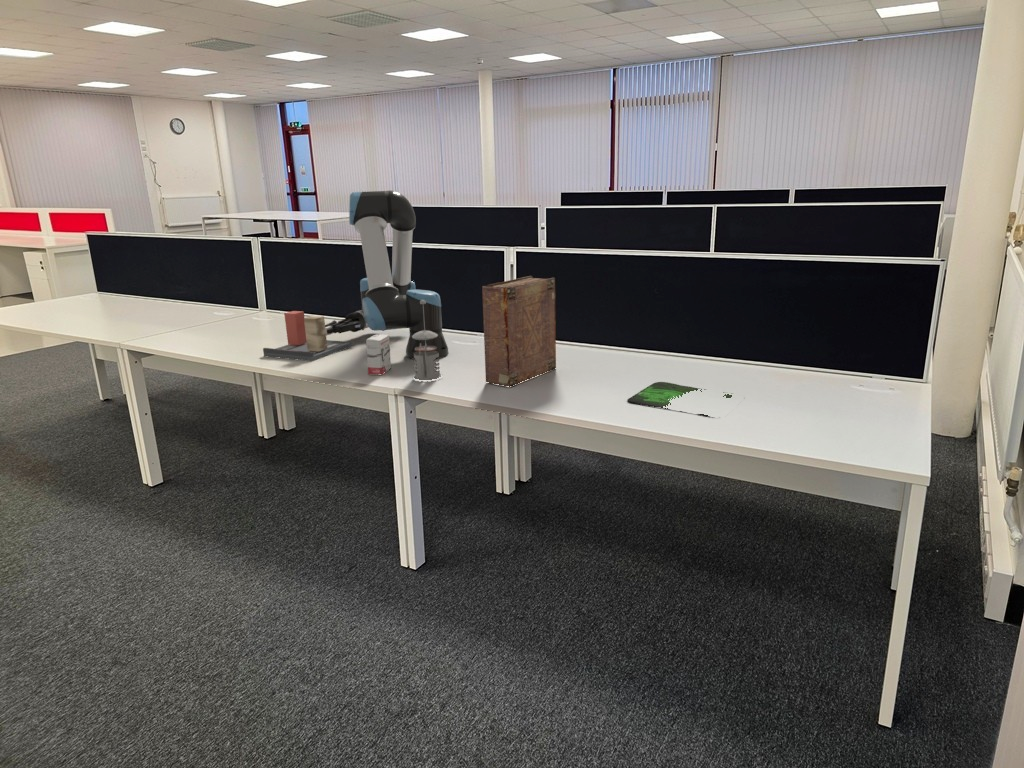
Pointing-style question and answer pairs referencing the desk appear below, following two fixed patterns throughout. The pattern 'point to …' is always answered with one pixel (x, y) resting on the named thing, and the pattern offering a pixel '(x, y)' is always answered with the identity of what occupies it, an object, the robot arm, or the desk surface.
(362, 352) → the desk surface
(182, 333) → the desk surface
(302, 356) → the track board
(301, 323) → the red slider
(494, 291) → the book
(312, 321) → the birch slider
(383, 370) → the ink box
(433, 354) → the french press
